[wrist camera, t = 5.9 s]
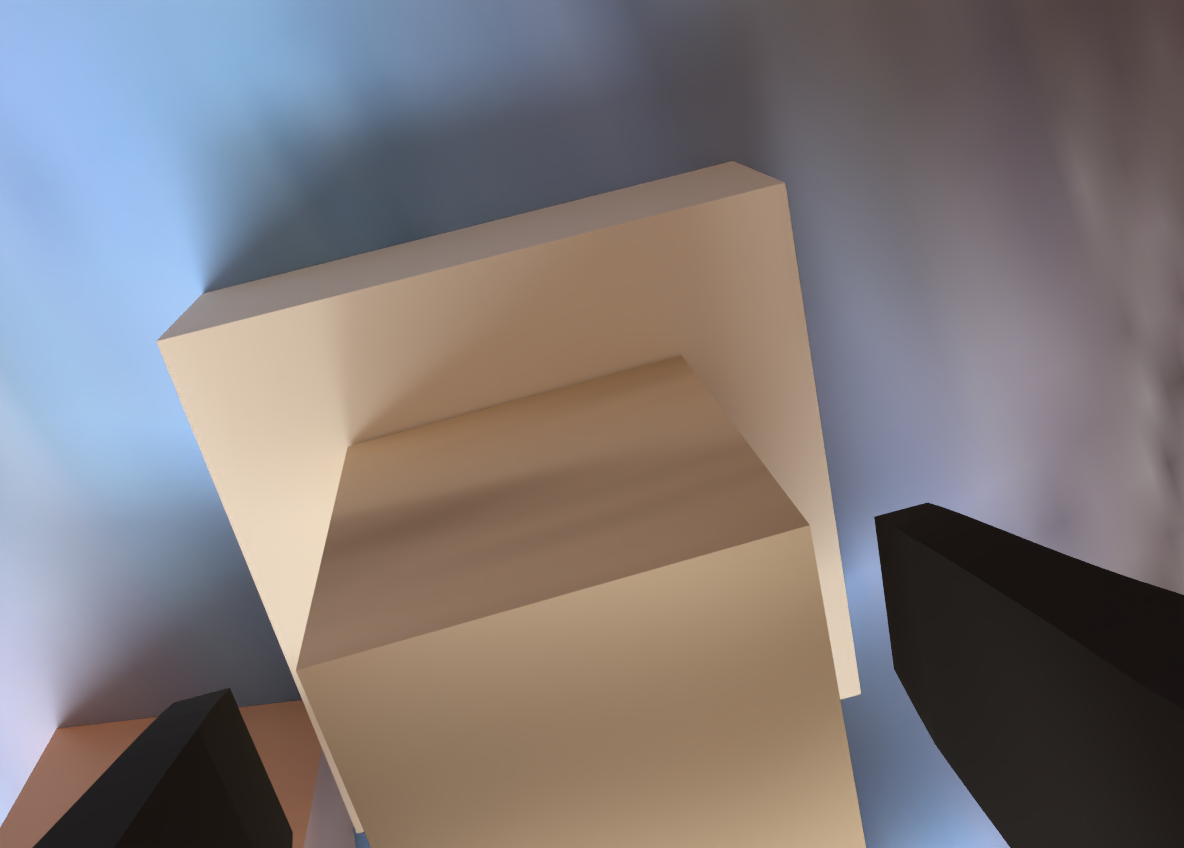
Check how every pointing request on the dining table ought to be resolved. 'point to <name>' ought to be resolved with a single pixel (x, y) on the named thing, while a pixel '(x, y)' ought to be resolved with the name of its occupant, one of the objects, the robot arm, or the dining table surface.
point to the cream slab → (502, 359)
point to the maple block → (578, 632)
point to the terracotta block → (93, 748)
